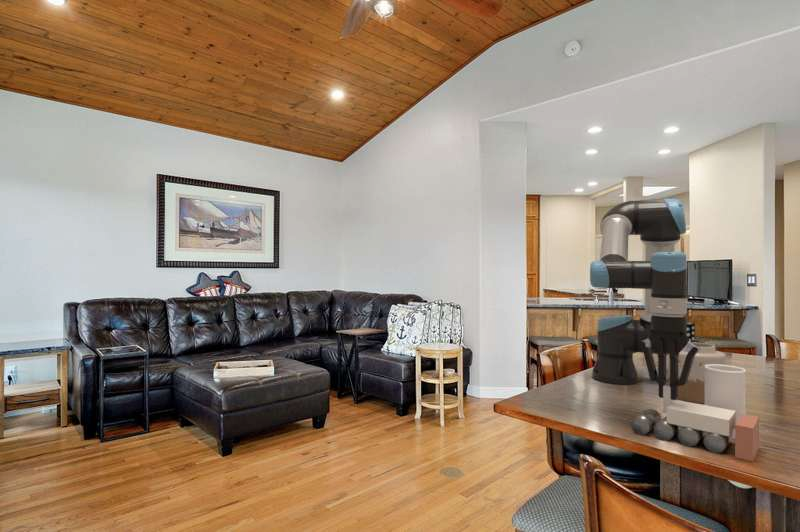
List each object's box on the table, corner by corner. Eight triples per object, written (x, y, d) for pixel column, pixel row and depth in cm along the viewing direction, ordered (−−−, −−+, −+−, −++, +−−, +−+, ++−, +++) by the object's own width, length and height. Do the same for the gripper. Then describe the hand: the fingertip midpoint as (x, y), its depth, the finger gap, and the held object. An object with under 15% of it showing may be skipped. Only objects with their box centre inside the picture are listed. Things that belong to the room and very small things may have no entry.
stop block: (735, 457, 96) (735, 424, 96) (742, 444, 103) (742, 414, 103) (752, 461, 94) (752, 428, 94) (759, 448, 101) (759, 417, 101)
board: (666, 422, 106) (666, 407, 106) (676, 414, 112) (676, 400, 112) (729, 436, 97) (729, 420, 97) (735, 426, 104) (735, 410, 104)
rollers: (631, 432, 110) (631, 416, 111) (643, 422, 118) (643, 407, 118) (725, 455, 97) (725, 436, 97) (733, 442, 104) (733, 425, 104)
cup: (696, 426, 115) (696, 364, 115) (726, 426, 115) (726, 363, 115) (722, 439, 106) (722, 371, 107) (754, 438, 107) (754, 371, 107)
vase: (732, 398, 140) (732, 345, 140) (717, 408, 130) (717, 350, 131) (677, 388, 152) (677, 339, 152) (660, 396, 142) (660, 343, 142)
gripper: (634, 314, 111) (634, 409, 111) (696, 318, 102) (695, 422, 102) (644, 312, 117) (643, 403, 116) (703, 316, 107) (703, 414, 107)
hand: (668, 411), depth 109 cm, fingers closed
